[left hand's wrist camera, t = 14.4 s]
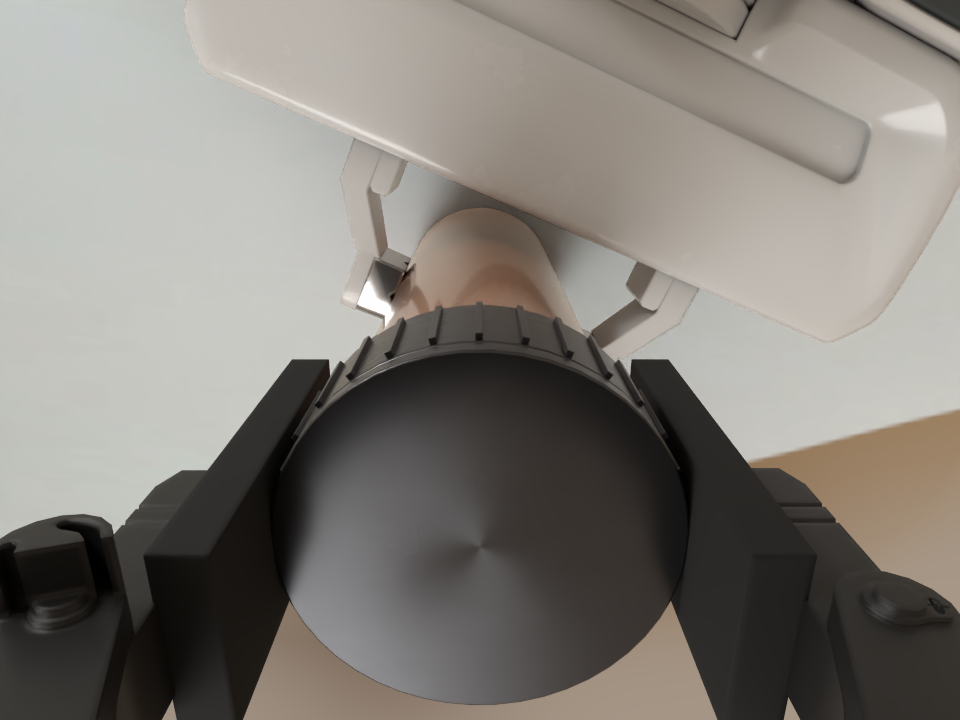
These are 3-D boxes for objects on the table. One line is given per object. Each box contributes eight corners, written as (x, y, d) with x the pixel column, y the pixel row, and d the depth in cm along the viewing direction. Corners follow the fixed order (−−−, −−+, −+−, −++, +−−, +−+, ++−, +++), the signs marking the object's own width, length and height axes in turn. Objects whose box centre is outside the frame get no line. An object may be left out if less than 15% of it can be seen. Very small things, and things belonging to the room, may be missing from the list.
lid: (358, 636, 14) (335, 737, 11) (255, 342, 11) (202, 396, 9) (675, 581, 13) (714, 674, 11) (630, 263, 11) (667, 299, 9)
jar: (400, 327, 27) (285, 633, 11) (424, 193, 25) (331, 329, 9) (530, 354, 28) (600, 687, 12) (564, 224, 26) (702, 405, 10)
